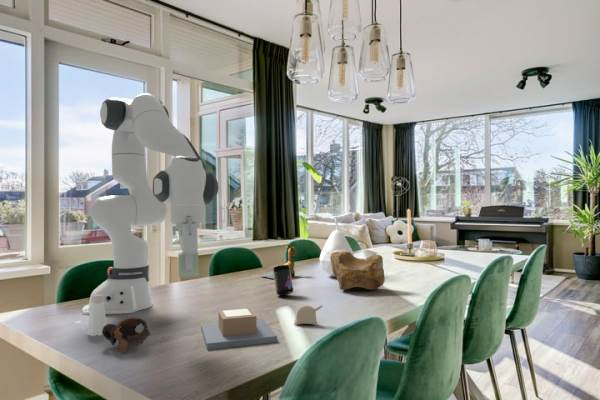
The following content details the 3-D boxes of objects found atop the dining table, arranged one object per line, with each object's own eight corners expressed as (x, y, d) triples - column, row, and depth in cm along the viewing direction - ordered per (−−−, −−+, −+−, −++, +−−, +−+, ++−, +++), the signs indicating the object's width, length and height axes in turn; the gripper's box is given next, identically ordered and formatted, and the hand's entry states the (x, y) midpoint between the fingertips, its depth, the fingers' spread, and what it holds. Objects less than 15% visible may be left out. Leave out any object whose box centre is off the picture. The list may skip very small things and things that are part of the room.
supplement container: (284, 291, 161) (280, 264, 165) (272, 295, 165) (269, 269, 169) (297, 291, 166) (293, 265, 170) (285, 296, 170) (281, 270, 174)
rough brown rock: (319, 291, 175) (318, 254, 175) (334, 284, 190) (334, 250, 190) (375, 296, 165) (374, 257, 165) (386, 288, 180) (386, 252, 180)
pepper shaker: (83, 334, 121) (83, 294, 121) (103, 330, 125) (103, 291, 125) (90, 338, 117) (90, 297, 117) (111, 334, 121) (110, 294, 121)
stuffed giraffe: (309, 277, 208) (309, 244, 208) (281, 282, 196) (281, 247, 196) (287, 273, 220) (287, 242, 220) (259, 278, 207) (259, 245, 207)
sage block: (179, 277, 112) (178, 254, 113) (178, 274, 117) (178, 252, 117) (198, 276, 114) (198, 253, 114) (197, 273, 119) (197, 251, 119)
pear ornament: (314, 278, 202) (313, 219, 202) (332, 271, 222) (332, 217, 223) (347, 281, 195) (346, 219, 195) (363, 273, 215) (362, 217, 215)
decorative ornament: (294, 320, 131) (295, 303, 131) (322, 321, 131) (322, 304, 131) (293, 324, 127) (294, 306, 127) (322, 325, 127) (322, 307, 127)
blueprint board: (207, 349, 107) (206, 324, 107) (201, 329, 125) (200, 307, 125) (277, 341, 113) (276, 318, 113) (262, 323, 130) (261, 302, 130)
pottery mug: (153, 340, 115) (155, 317, 112) (141, 368, 107) (143, 344, 103) (107, 332, 114) (108, 308, 111) (91, 359, 106) (92, 335, 102)
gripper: (203, 216, 107) (203, 272, 107) (197, 214, 126) (197, 261, 126) (176, 217, 105) (177, 274, 105) (174, 215, 124) (175, 263, 124)
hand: (188, 267), depth 116 cm, fingers closed on sage block, 5 cm apart
